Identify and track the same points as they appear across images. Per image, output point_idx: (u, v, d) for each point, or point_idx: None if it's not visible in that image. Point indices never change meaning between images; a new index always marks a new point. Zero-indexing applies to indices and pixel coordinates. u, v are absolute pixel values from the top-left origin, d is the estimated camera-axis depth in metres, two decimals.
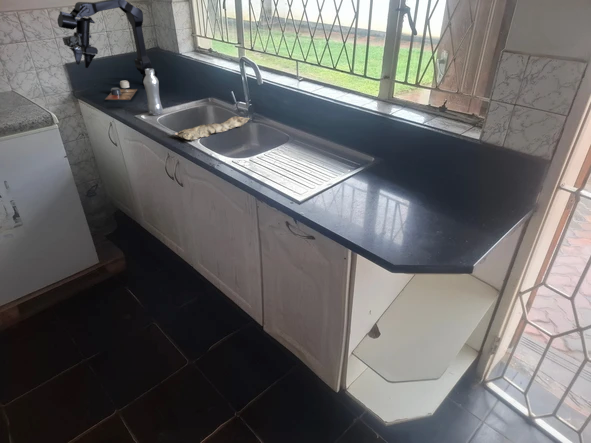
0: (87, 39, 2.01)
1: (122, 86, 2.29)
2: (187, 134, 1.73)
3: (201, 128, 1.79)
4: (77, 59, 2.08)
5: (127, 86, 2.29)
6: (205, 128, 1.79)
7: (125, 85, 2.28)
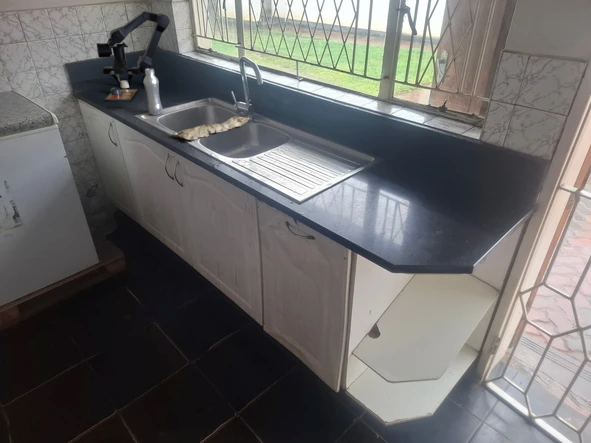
0: (126, 62, 2.25)
1: (122, 86, 2.29)
2: (187, 134, 1.73)
3: (201, 128, 1.79)
4: (119, 82, 2.29)
5: (127, 86, 2.29)
6: (205, 128, 1.79)
7: (125, 85, 2.28)
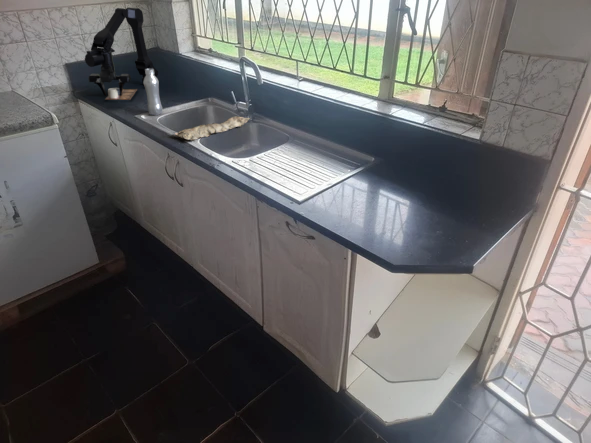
0: None
1: (110, 94, 2.11)
2: (187, 134, 1.73)
3: (201, 128, 1.79)
4: (104, 91, 2.12)
5: (115, 94, 2.12)
6: (205, 128, 1.79)
7: (113, 93, 2.11)
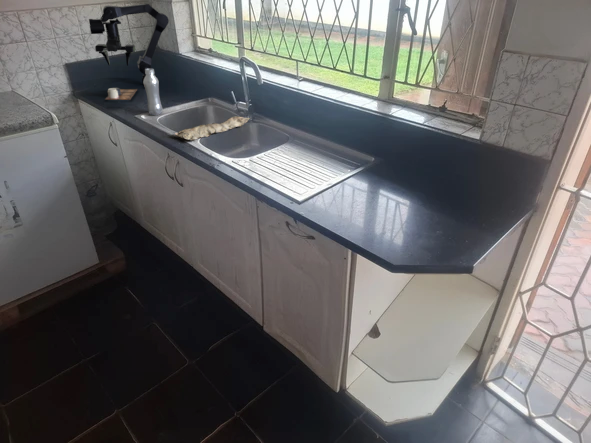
0: (119, 39, 2.20)
1: (110, 94, 2.11)
2: (187, 134, 1.73)
3: (201, 128, 1.79)
4: (108, 60, 2.23)
5: (115, 94, 2.12)
6: (205, 128, 1.79)
7: (113, 93, 2.11)
